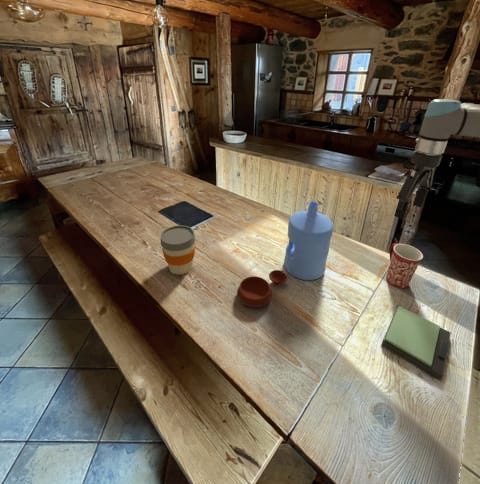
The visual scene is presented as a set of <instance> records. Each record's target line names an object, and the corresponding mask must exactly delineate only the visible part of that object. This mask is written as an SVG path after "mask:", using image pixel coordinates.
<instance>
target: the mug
mask: <svg viewBox="0 0 480 484" xmlns="http://www.w3.org/2000/svg"><path fill="white" fill-rule="evenodd" d="M423 259H424V254H423V253H422V251H420V249H418V248H416V247H415V246H412V245H410V244H406V243H392V244H391V245H390V248H389V265H388V269H387V272H386V277H385V278H386V280H387V282H388V283H390V284H391V285H392V286H394V287H397V288H401V289H404V288H407V287H408V286H409V285H410V283H411V281H412V279H413V276H414V275H415V273H416V271H417V269H418V267H419V265H420V263H421V261H422V260H423Z"/></svg>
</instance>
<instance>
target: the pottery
mask: <svg viewBox="0 0 480 484" xmlns="http://www.w3.org/2000/svg"><path fill="white" fill-rule="evenodd" d="M268 277H269V279H270V281H271V282H272V284H273V285H274V286H277V287H279V286H281V285H282V284H283V283H285V282H286V281H287V280H288V275H287V274H286V273H285V271H283V270H279V269H273V270H272V271H270V272H269V274H268ZM236 295H237V298H238V300H239V301H240V302H241V303H243V305H245V306H247V307H251V308H259V307H263V306H266V305H267V304H268V303H270V301H271V300H272V298H273V297H272V296H273V290H272V288H271V286H270V284H269V283H268V281H267V280H266V279H265V278H263V277H260V276H253V275H252V276H248V277H246V278H244V279H243V280H241V282H240V284H239V286H238V287H237V290H236Z"/></svg>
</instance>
